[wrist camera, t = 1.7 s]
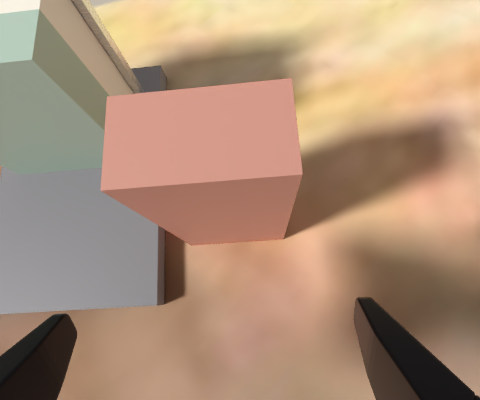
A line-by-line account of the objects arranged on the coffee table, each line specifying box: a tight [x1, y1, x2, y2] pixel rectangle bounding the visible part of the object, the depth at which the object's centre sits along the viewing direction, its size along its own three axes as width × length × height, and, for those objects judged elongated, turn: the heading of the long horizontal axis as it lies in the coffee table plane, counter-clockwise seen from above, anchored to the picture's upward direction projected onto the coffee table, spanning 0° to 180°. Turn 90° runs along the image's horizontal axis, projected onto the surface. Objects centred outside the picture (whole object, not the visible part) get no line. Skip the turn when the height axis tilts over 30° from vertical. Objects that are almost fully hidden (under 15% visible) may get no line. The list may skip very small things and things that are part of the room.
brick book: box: [101, 78, 303, 245], centre depth 17 cm, size 4×6×13 cm, turn 93°
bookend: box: [71, 0, 146, 94], centre depth 19 cm, size 1×10×12 cm, turn 93°
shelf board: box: [0, 66, 166, 314], centre depth 24 cm, size 18×12×2 cm, turn 3°
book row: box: [0, 0, 134, 175], centre depth 19 cm, size 5×9×11 cm, turn 93°
